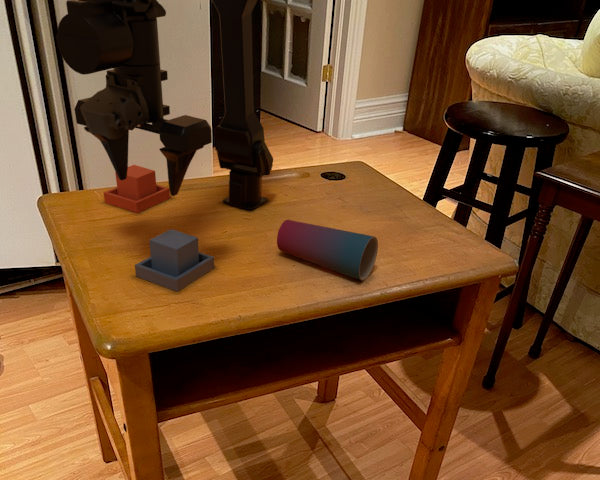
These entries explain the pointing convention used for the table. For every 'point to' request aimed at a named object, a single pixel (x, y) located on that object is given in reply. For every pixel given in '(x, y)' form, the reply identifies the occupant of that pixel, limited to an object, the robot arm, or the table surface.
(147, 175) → the rust block
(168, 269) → the blue block
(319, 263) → the cup
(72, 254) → the table surface
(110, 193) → the rust tray
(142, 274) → the blue tray
